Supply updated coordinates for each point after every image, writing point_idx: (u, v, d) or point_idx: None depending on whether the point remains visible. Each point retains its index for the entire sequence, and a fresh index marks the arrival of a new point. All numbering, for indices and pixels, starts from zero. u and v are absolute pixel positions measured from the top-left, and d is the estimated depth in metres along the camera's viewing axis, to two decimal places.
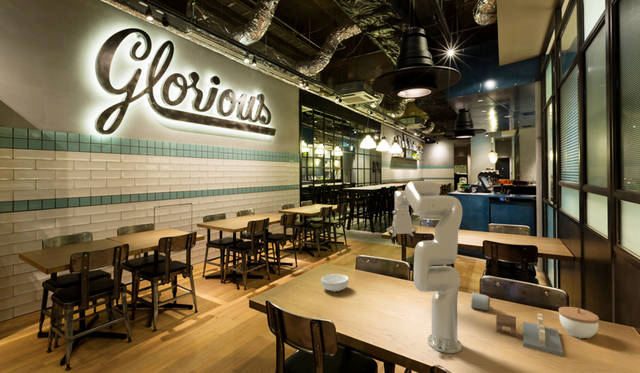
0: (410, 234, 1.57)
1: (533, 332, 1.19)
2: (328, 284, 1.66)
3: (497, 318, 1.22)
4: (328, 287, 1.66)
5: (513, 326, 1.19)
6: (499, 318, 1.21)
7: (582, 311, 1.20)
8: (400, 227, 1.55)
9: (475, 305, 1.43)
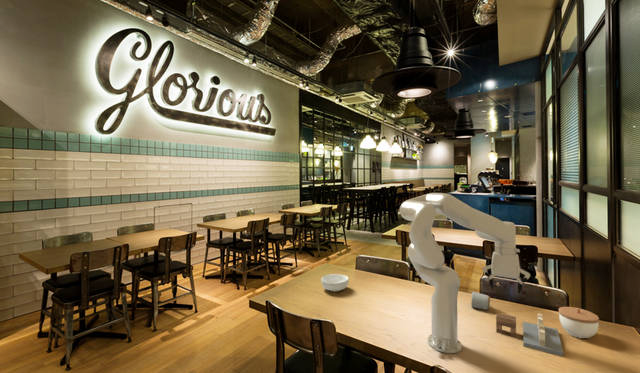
0: None
1: (533, 332, 1.19)
2: (328, 284, 1.66)
3: (497, 318, 1.22)
4: (328, 287, 1.66)
5: (513, 326, 1.19)
6: (499, 318, 1.21)
7: (582, 311, 1.20)
8: None
9: (475, 304, 1.43)
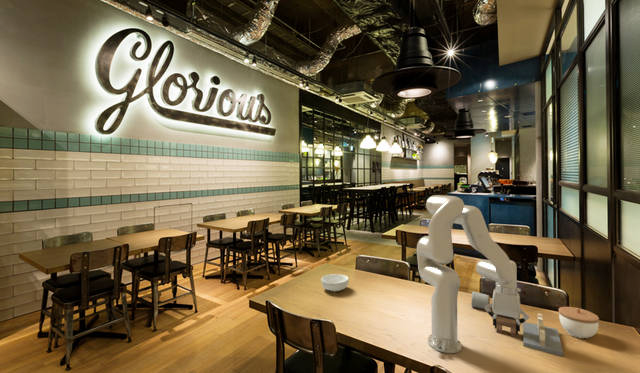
0: None
1: (533, 332, 1.19)
2: (328, 284, 1.66)
3: (497, 318, 1.22)
4: (328, 287, 1.66)
5: (513, 326, 1.19)
6: (499, 318, 1.21)
7: (582, 311, 1.20)
8: None
9: (475, 304, 1.44)
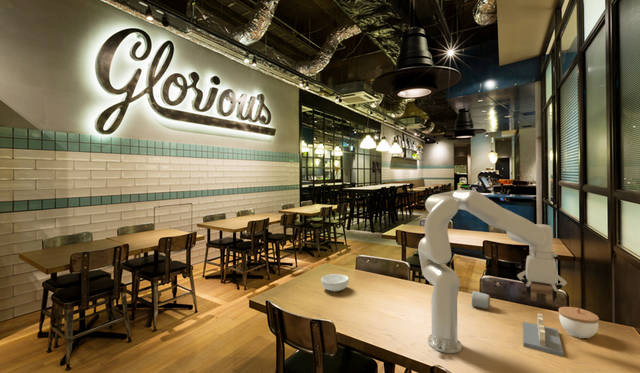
0: None
1: (533, 332, 1.19)
2: (328, 284, 1.66)
3: (532, 285, 1.16)
4: (328, 287, 1.66)
5: (549, 292, 1.13)
6: (534, 285, 1.16)
7: (582, 311, 1.20)
8: None
9: (475, 303, 1.45)
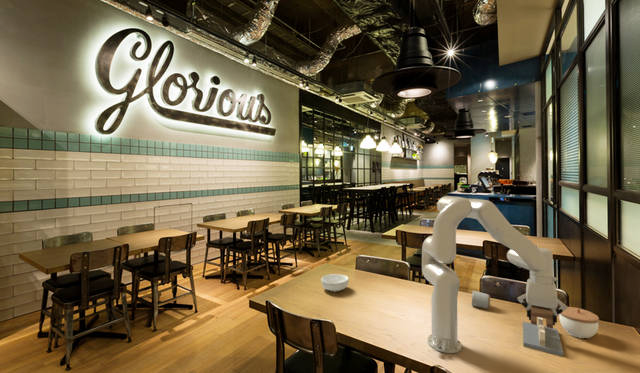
0: None
1: (533, 332, 1.19)
2: (328, 284, 1.66)
3: (532, 309, 1.16)
4: (328, 287, 1.66)
5: (550, 317, 1.13)
6: (534, 309, 1.16)
7: (582, 311, 1.20)
8: None
9: (475, 303, 1.45)
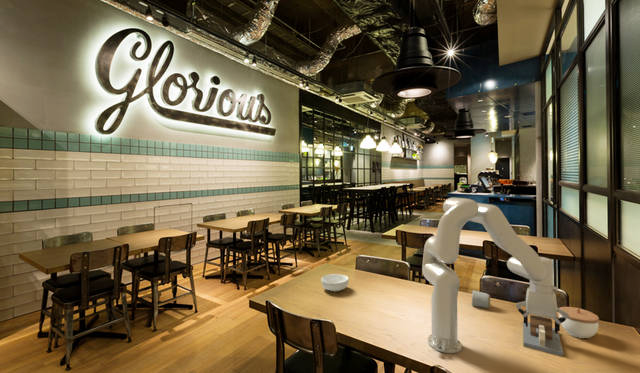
0: None
1: None
2: (328, 284, 1.66)
3: (531, 320, 1.17)
4: (328, 287, 1.66)
5: (549, 329, 1.13)
6: (534, 320, 1.16)
7: (582, 311, 1.20)
8: None
9: (476, 303, 1.45)
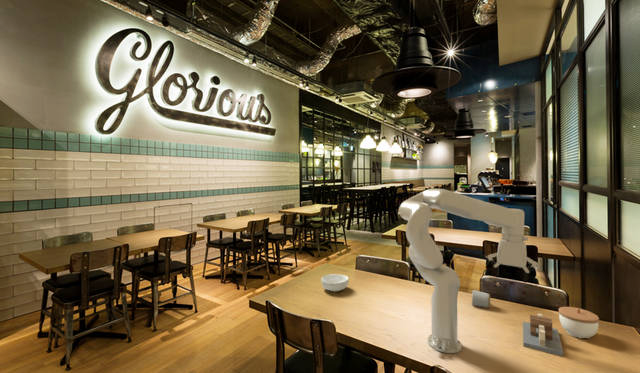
0: None
1: None
2: (328, 284, 1.66)
3: (531, 320, 1.17)
4: (328, 287, 1.66)
5: (549, 329, 1.13)
6: (534, 320, 1.16)
7: (582, 311, 1.20)
8: None
9: (476, 302, 1.46)
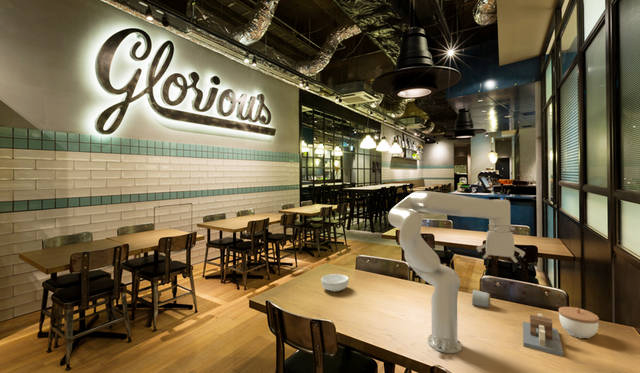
0: None
1: None
2: (328, 284, 1.66)
3: (531, 320, 1.17)
4: (328, 287, 1.66)
5: (549, 329, 1.13)
6: (534, 320, 1.16)
7: (582, 311, 1.20)
8: None
9: (476, 302, 1.46)
